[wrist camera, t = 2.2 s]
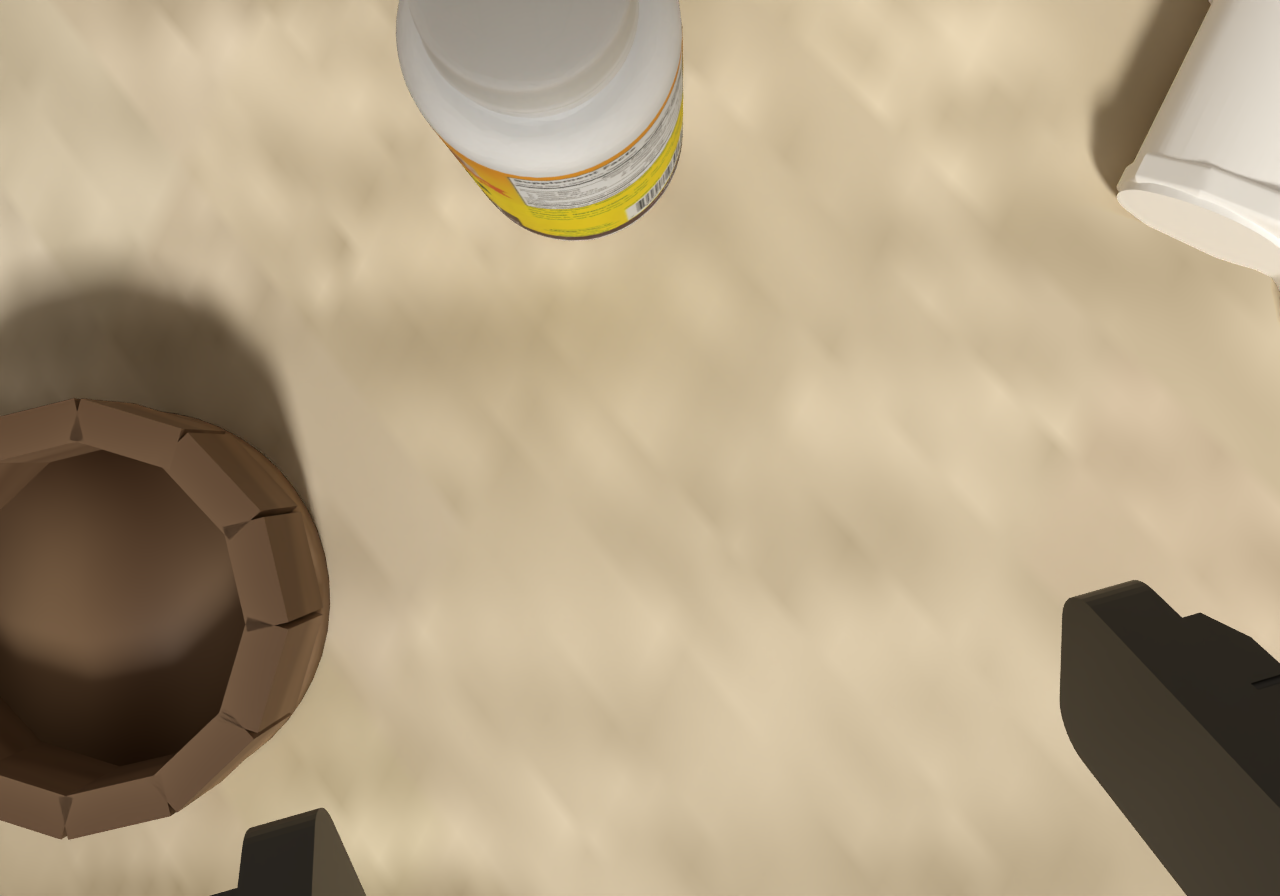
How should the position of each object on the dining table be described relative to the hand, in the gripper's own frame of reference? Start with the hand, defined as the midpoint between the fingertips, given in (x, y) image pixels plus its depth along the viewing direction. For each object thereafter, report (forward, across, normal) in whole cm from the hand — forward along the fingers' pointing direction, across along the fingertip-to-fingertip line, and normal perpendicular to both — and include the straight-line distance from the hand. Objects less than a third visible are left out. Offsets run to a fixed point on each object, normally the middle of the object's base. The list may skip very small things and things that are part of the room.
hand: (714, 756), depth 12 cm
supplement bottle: (+21, -2, -1) cm, 21 cm away
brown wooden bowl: (+18, +12, +7) cm, 23 cm away
